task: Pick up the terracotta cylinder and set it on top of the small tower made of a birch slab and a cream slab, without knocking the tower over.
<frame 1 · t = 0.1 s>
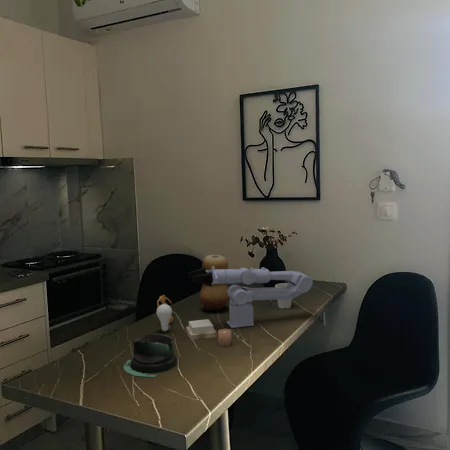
hand: (191, 277, 186), 22 cm above the table, tool horizontal, fingers open, 7 cm apart
black hat: (154, 365, 157), on the table
dixie cup: (284, 307, 217), on the table
terracotta cylinder: (225, 344, 173), on the table
cream slab: (200, 329, 184), point 2 cm above the table, touching birch slab
lightbulb: (165, 331, 188), on the table
figurine: (166, 323, 198), on the table
birch slab: (201, 335, 184), on the table, touching cream slab
butternut squash: (215, 309, 215), on the table
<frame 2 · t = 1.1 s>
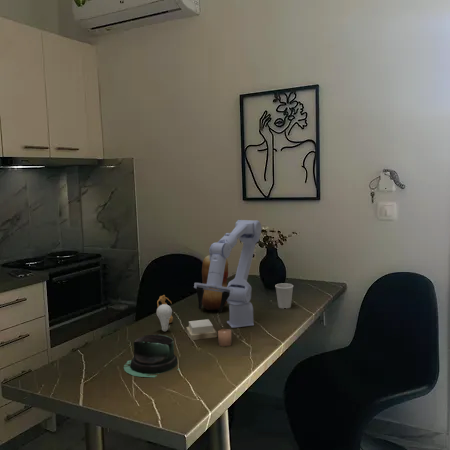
hand: (209, 310, 173), 12 cm above the table, tool tilted 20°, fingers open, 7 cm apart
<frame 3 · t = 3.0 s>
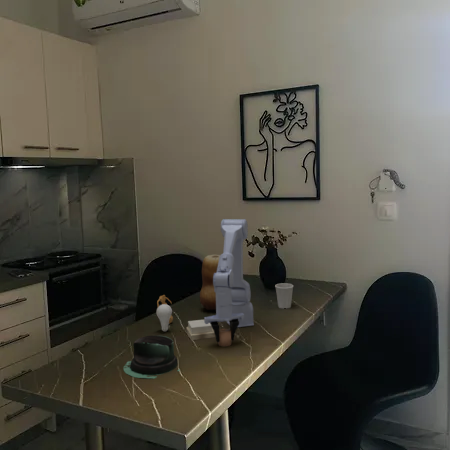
hand: (224, 340, 173), 1 cm above the table, tool pointing down, fingers closed on terracotta cylinder, 5 cm apart
terracotta cylinder: (225, 344, 173), on the table, touching gripper
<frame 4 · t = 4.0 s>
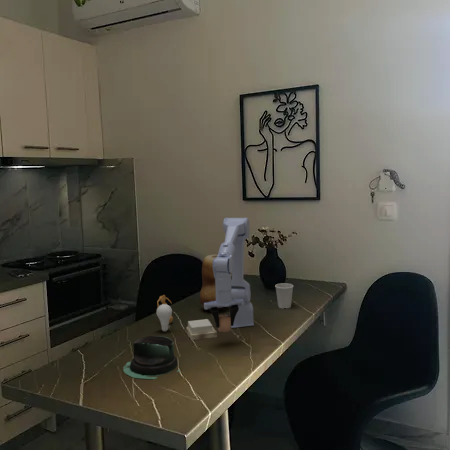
hand: (224, 326, 172), 7 cm above the table, tool pointing down, fingers closed on terracotta cylinder, 5 cm apart
terracotta cylinder: (224, 329, 173), point 5 cm above the table, touching gripper
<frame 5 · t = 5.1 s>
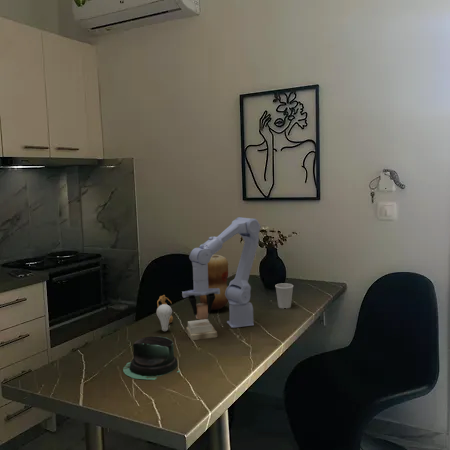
hand: (201, 313, 182), 8 cm above the table, tool pointing down, fingers closed on terracotta cylinder, 5 cm apart
terracotta cylinder: (202, 317, 182), point 7 cm above the table, touching gripper
when the fingers open (7 cm above the table, at t = 6.0 s): terracotta cylinder drops 2 cm, resting on cream slab.
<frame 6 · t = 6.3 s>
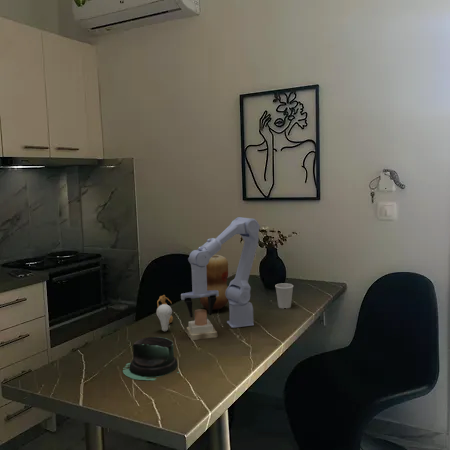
hand: (200, 315, 183), 7 cm above the table, tool pointing down, fingers open, 7 cm apart
terracotta cylinder: (200, 323, 183), point 4 cm above the table, touching cream slab
cream slab: (200, 329, 184), point 2 cm above the table, touching birch slab, terracotta cylinder
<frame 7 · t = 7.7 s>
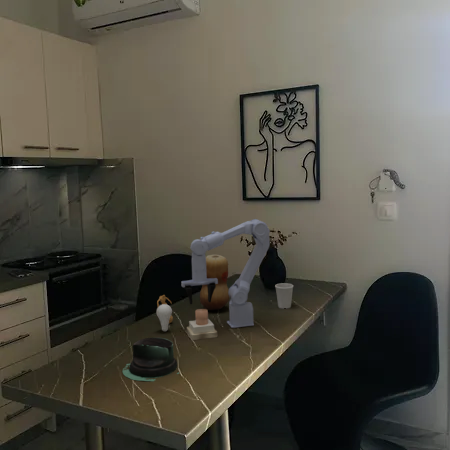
hand: (200, 302, 190), 10 cm above the table, tool pointing down, fingers open, 7 cm apart
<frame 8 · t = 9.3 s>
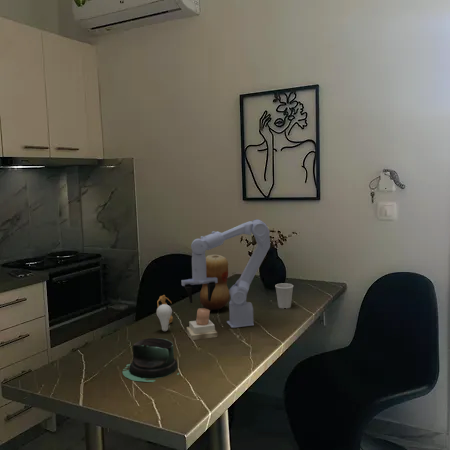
hand: (200, 301, 192), 10 cm above the table, tool pointing down, fingers open, 7 cm apart
terracotta cylinder: (202, 322, 184), point 5 cm above the table, tilted 9°, touching cream slab
at the end: terracotta cylinder 0.2 cm off-centre on the cream slab, point 2.8 cm above the cream slab's base; cream slab 0.3 cm off-centre on the birch slab, point 2.5 cm above the birch slab's base; terracotta cylinder tilted 9° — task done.
